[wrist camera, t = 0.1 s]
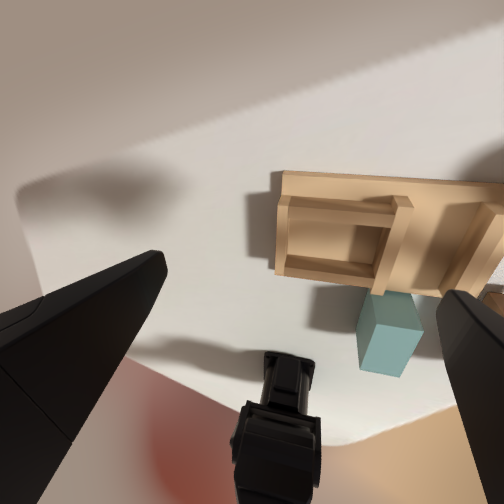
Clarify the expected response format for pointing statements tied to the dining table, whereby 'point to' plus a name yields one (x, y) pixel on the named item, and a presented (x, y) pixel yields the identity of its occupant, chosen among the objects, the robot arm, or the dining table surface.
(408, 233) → the jig
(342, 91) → the dining table surface
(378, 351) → the teal block
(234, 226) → the dining table surface
